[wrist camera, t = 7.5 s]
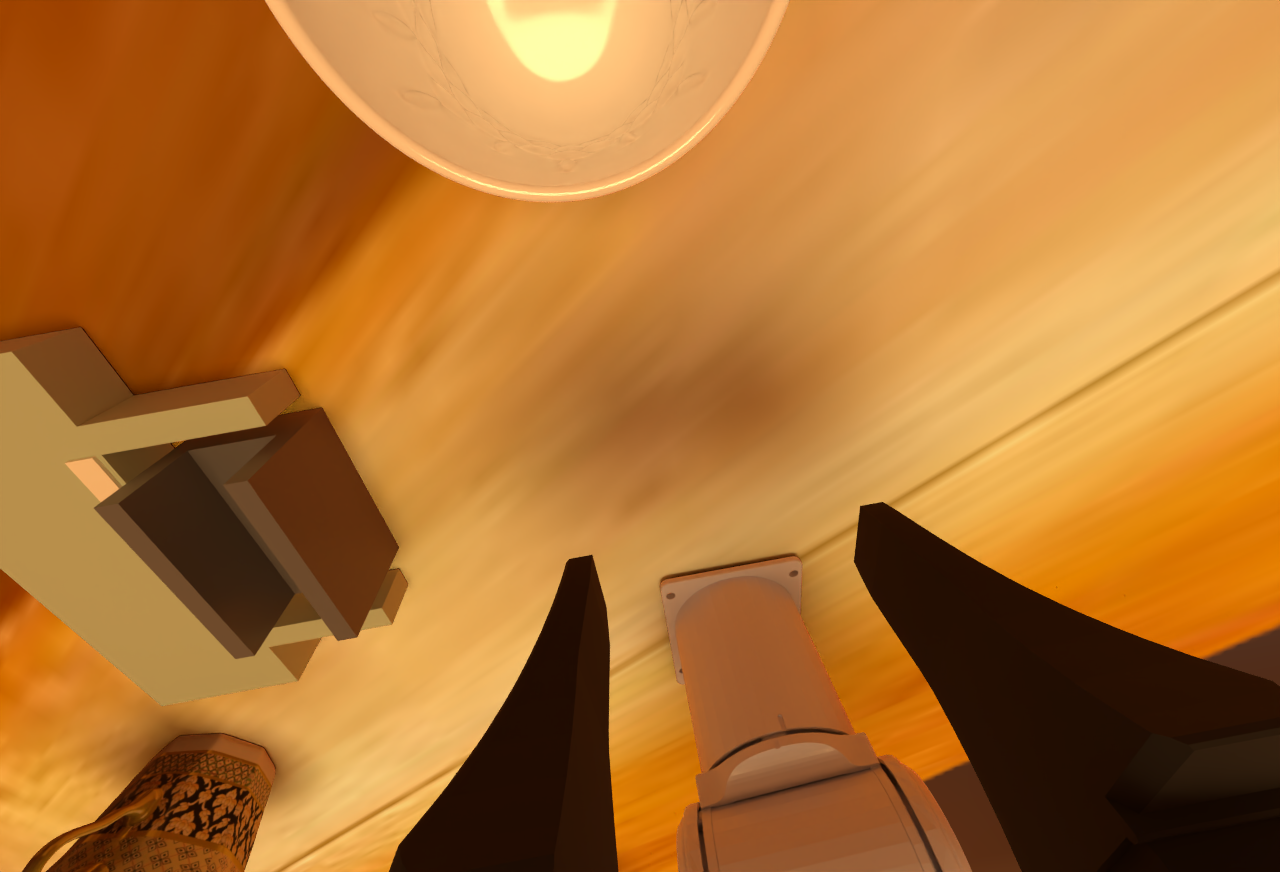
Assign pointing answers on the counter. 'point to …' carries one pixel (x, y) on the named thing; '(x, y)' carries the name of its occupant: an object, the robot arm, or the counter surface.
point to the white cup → (536, 82)
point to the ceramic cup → (176, 813)
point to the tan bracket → (88, 546)
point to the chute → (259, 529)
